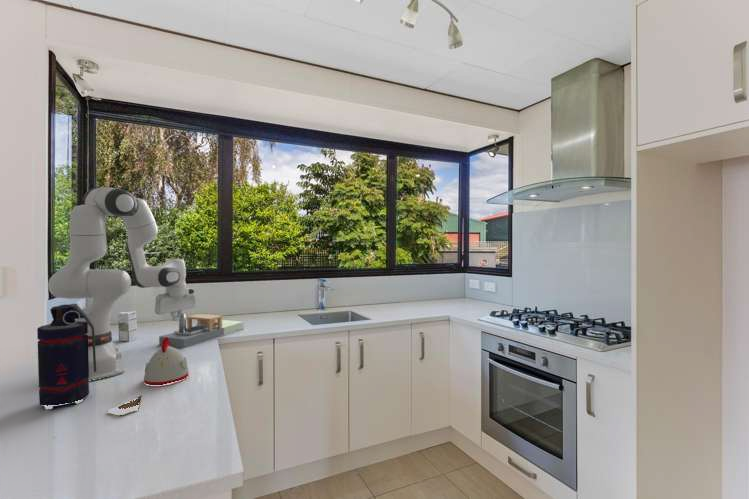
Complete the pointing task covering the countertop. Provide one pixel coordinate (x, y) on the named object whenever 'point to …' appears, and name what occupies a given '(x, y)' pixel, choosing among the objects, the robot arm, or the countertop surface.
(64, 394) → the grenade
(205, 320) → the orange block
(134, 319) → the syrup box
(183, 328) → the slider
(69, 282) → the robot arm
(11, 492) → the countertop surface
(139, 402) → the shard
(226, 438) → the countertop surface
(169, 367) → the grey dome
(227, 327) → the tunnel deck
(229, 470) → the countertop surface
